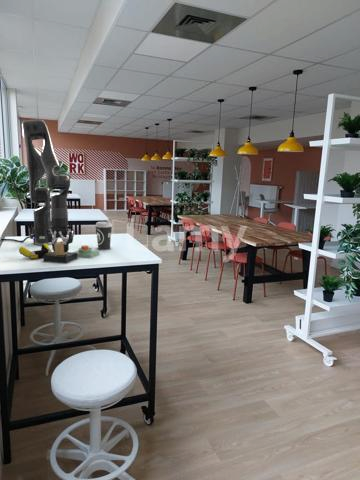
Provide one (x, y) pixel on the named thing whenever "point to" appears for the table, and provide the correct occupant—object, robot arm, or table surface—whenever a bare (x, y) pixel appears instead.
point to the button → (84, 247)
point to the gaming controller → (35, 252)
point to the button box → (86, 253)
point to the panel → (60, 257)
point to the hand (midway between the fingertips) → (60, 251)
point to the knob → (59, 248)
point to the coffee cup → (103, 235)
